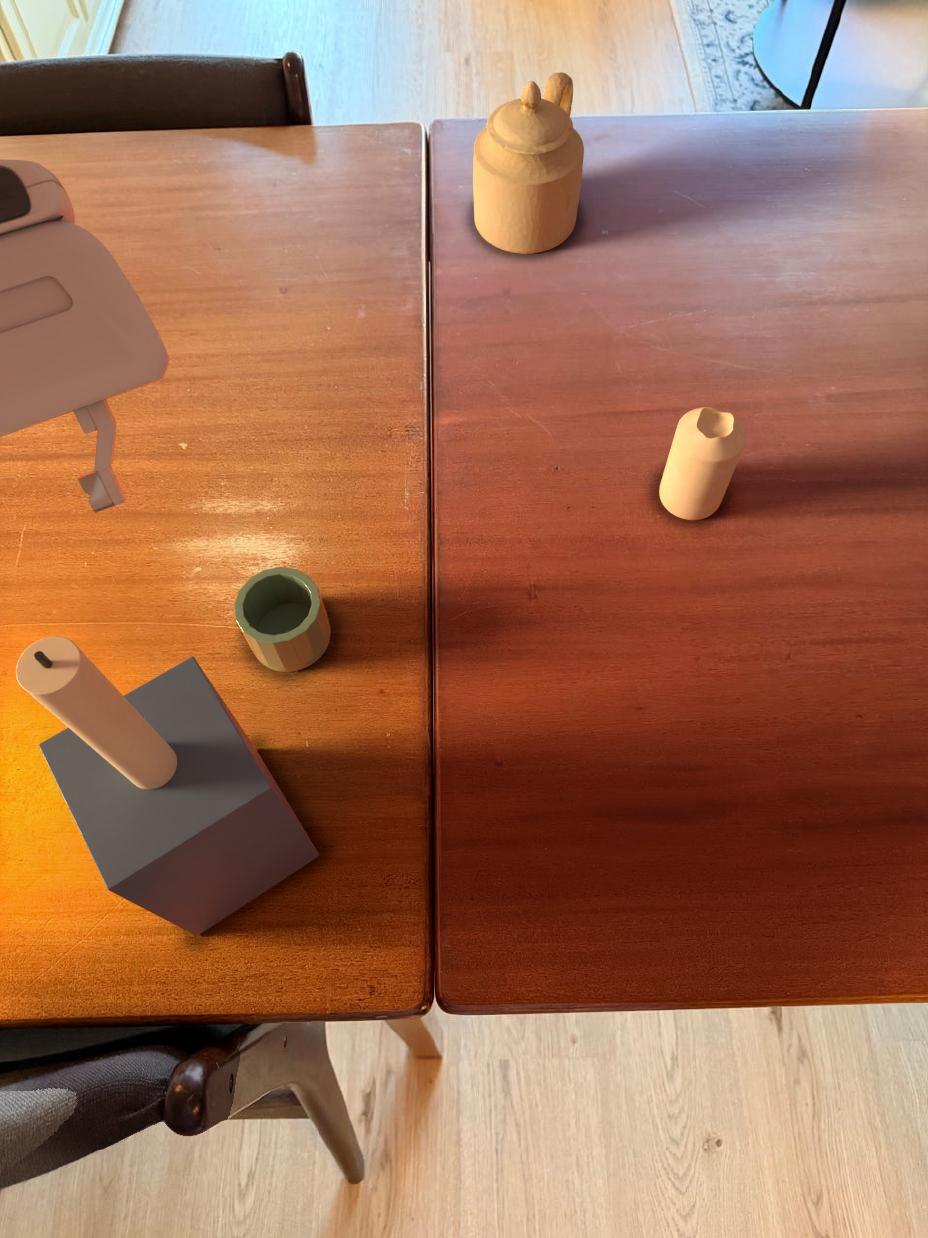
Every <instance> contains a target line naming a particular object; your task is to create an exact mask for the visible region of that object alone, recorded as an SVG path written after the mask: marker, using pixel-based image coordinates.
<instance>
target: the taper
mask: <svg viewBox="0 0 928 1238" xmlns="http://www.w3.org/2000/svg"><path fill="white" fill-rule="evenodd" d="M15 667H16V668H15V676H16V677H15V678H16V680H17V683H18V685H19V686H20V687H21V688H22V690H24V691H26V692H27V693H28V694H29V695H30V696H31V697H32V698H34V699H35V700H36V701H37V702H38V703H39V704H41V706H43V707H44V708H45V709H46V710H48V712H50V713H51V714H52V715H53V716H54V717H56V719H58V720H59V721H60V722H61V723H62V724H64V725H65V726H66V728H70V729H71V730H72V731H73V732H74V733H75V734H77V735H78V736H79V737H80V738H81V739H82V740H84V741H85V742H86V743H87V744H88V745H89V746H91V747H92V748H93V749H94V750H95V751H96V752H97V753H99V754H100V755H101V756H102V757H103V758H104V759H106V760H107V761H108V762H109V763H110V764H111V765H113V766H114V767H115V768H116V769H117V770H118V771H120V772H121V773H122V774H123V775H124V776H125V777H126V778H128V779H129V780H130V781H131V782H132V783H133V784H135V785H136V786H137V787H139V788H142V789H155V788H159V787H161V786H163V785H164V784H166V783H167V782H168V781H169V780H170V779H171V778H172V777H173V775H174V773H175V771H176V768H177V756H176V754H175V752H174V750H173V749H172V748H171V747H170V746H169V745H168V744H167V743H166V741H165V740H164V739H163V738H162V737H161V736H160V735H159V734H158V733H157V732H156V731H155V730H154V728H153V727H152V726H151V725H150V724H149V723H148V722H147V721H146V720H145V719H144V718H143V717H142V716H141V714H140V713H139V712H138V711H137V710H136V709H135V708H134V707H133V706H132V705H131V704H130V703H129V701H128V700H127V699H126V698H125V697H124V695H123V694H122V693H121V692H120V691H119V690H118V689H117V687H116V686H115V685H114V684H113V682H111V681H110V680H109V678H107V676H106V675H104V673H103V672H102V671H101V670H100V669H99V668H98V667H97V665H95V663H94V662H93V661H92V660H91V659H90V657H88V656H87V655H86V654H85V653H84V652H83V650H81V648H80V647H79V646H78V645H77V644H76V643H75V642H74V641H72V640H71V639H69V638H67V637H63V636H59V635H58V636H57V635H56V636H55V635H53V636H47V637H43V638H40V639H38V640H36V641H34V642H33V643H31V644H30V645H29V646H27V648H25V649H24V651H23V652H22V653H21V655H20V656H19V658H18V660H17V663H16V666H15Z"/></svg>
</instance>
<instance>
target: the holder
mask: <svg viewBox="0 0 928 1238" xmlns="http://www.w3.org/2000/svg"><path fill="white" fill-rule="evenodd" d="M233 609H234V610H233V611H234V619H235V622H236V624H237V626H238V628H239V630H240V631H241V633H242V635H243V637H244V639H245V640H246V643H247V645H248V647H249V648H250V649H251V651H252V654H254V656H255V658H256V659H257V660H258V661H259V662H260V664H262V665H263V666H264V667H266V668H268V669H270V670H273V671H277V672H284V673H291V672H297V671H301V670H303V669H306V668H309V667H310V666H311V665H313V664H315V663H316V662H317V661H318V660H320V658H321V657H322V656H323V655H324V653H326V650H327V649H328V647H329V644H330V641H331V635H332V633H331V632H332V631H331V630H332V629H331V625H330V621H329V616H328V613H327V610H326V607H325V603H324V601H323V597H322V594H321V592H320V590H319V587H318V586H317V584H316V582H315V581H314V580H313V578H312V577H311V576H310V575H308V574H306V573H304V572H303V571H301V570H299V569H297V568H292V567H285V566H277V567H272V568H267V569H263V570H261V571H260V572H258V573H255V574H254V575H252V576H251V577H250V578H248V580H246V581H245V583H244V584H243V585H242V587H240V589H238V592H237V595H236V598H235V601H234V603H233Z"/></svg>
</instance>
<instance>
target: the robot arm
mask: <svg viewBox="0 0 928 1238" xmlns="http://www.w3.org/2000/svg"><path fill="white" fill-rule="evenodd" d="M73 207H74V206H73V205H72V202H71V199H70V197H69V194H68V192H67V190H66V188H65V187H64V185H63V183H62V182H61V181H60V180H59V179H58V177H57V176H56V175H55V174H54V173H53V172H51V170H49V169H48V168H46V167H45V166H44V165H42V164H41V163H39V162H35V161H32V160H26V159H25V160H24V159H0V438H2V437H4V436H7V435H10V434H14V433H16V432H18V431H21V430H25V429H27V428H30V427H33V426H35V425H39V424H41V423H44V422H47V421H50V420H53V419H55V418H58V417H61V416H64V415H67V414H69V413H72V412H73V414H74V416H75V418H76V420H77V422H78V423H79V426H80V428H81V430H82V433H85V434H87V435H88V434H90V433H93V432H96V431H97V432H96V445H95V458H94V468H93V471H89V472H87V473H85V474H82V475H80V476H79V477H78V479H77V480H78V483H79V484H80V487H81V489H82V491H83V492H84V493H85V494H86V495H88V496H89V497H88V504H89V505H90V507H91V509H92V510H93V512H94V513H95V514H96V513H100V512H102V511H105V510H107V509H111V508H113V507H116V506H118V505H121V504H124V503H126V501H127V499H126V496H125V495H126V494H125V492H124V490H123V488H122V486H121V484H120V481H119V479H118V477H117V475H116V473H115V471H114V469H113V467H112V466H113V464H114V458H115V457H114V455H115V445H116V433H117V425H118V423H117V420H116V418H115V415H114V413H113V411H112V409H111V407H110V405H109V403H108V401H107V400H109V399H111V398H114V397H117V396H120V395H124V394H126V393H129V392H131V391H134V390H136V389H140V388H142V387H145V386H148V385H151V384H154V383H157V382H160V381H161V380H162V379H163V378H164V377H165V375H166V373H167V370H168V367H169V365H170V360H171V359H170V355H169V352H168V350H167V348H166V345H165V344H164V342H163V339H162V338H161V336H160V333H159V331H158V329H157V327H156V326H155V323H154V321H153V320H152V318H151V316H150V314H149V312H148V310H147V308H146V306H145V305H144V302H142V300H141V298H140V296H139V295H138V293H137V292H136V290H135V288H134V286H133V285H132V283H131V282H130V280H129V278H128V277H127V275H126V274H125V272H124V271H123V269H122V268H121V266H120V264H119V263H118V262H117V260H116V258H115V257H114V256H113V254H112V253H111V251H109V249H108V248H107V247H106V246H105V244H103V242H102V241H101V240H100V239H99V238H97V237H96V235H94V234H92V232H90V231H88V230H87V229H85V228H84V227H82V226H80V225H77V224H75V222H76V219H75V218H76V216H75V211H74V208H73Z"/></svg>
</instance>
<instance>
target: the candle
mask: <svg viewBox="0 0 928 1238" xmlns="http://www.w3.org/2000/svg"><path fill="white" fill-rule="evenodd" d="M746 442H747V432H746V429H745V426H744V424H743V423H742V422H741V420H740V419H739V418H738V417H736V416H735V415H734V414H733V413H731V412H729V411H727V410H726V409H723V408H720V407H715V406H701V407H697V408H694V409H692V410H689V411H687V412H686V413H685V414H683V416H682V417H680V419H679V421H678V423H677V426H676V429H675V432H674V436H673V440H672V442H671V447H670V450H669V453H668V457H667V460H666V463H665V467H664V470H663V473H662V477H661V479H660V484H659V499H660V502H661V504H662V506H663V507H664V508H665V509H666V511H668V512H669V513H670V514H672V515H673V516H676V517H678V518H680V519H683V520H686V521H688V520H689V521H700V520H705V519H706V518H709V517H710V516H712V515H713V514H714V513H716V511H717V510H718V509H719V507H720V505H721V503H722V502H723V499H724V497H725V494H726V492H727V489H728V487H729V485H730V482H731V479H732V477H733V474H734V472H735V470H736V467H737V465H738V463H739V459H740V457H741V455H742V453H743V450H744V447H745V445H746Z"/></svg>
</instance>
